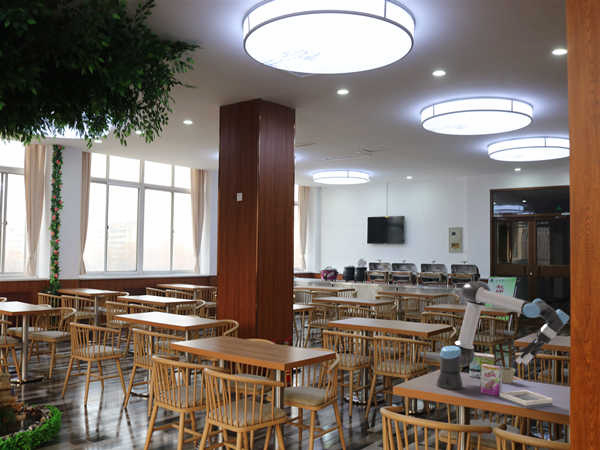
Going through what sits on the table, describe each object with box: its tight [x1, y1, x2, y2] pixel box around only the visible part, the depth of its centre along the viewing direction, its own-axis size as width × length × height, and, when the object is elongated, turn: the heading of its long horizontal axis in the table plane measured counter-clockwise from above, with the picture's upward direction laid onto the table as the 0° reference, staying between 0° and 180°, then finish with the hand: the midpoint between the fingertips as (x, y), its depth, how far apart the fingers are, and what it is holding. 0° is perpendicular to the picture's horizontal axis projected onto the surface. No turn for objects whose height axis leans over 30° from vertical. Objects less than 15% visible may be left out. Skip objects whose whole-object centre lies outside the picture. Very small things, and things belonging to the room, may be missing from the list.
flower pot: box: [501, 366, 516, 385], centre depth 340 cm, size 9×9×9 cm
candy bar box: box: [479, 364, 503, 398], centre depth 309 cm, size 11×5×16 cm, turn 56°
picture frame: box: [499, 389, 553, 409], centre depth 296 cm, size 18×20×4 cm
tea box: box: [469, 352, 495, 378], centre depth 354 cm, size 15×10×15 cm, turn 73°
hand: (520, 362), depth 300 cm, fingers open, 13 cm apart
